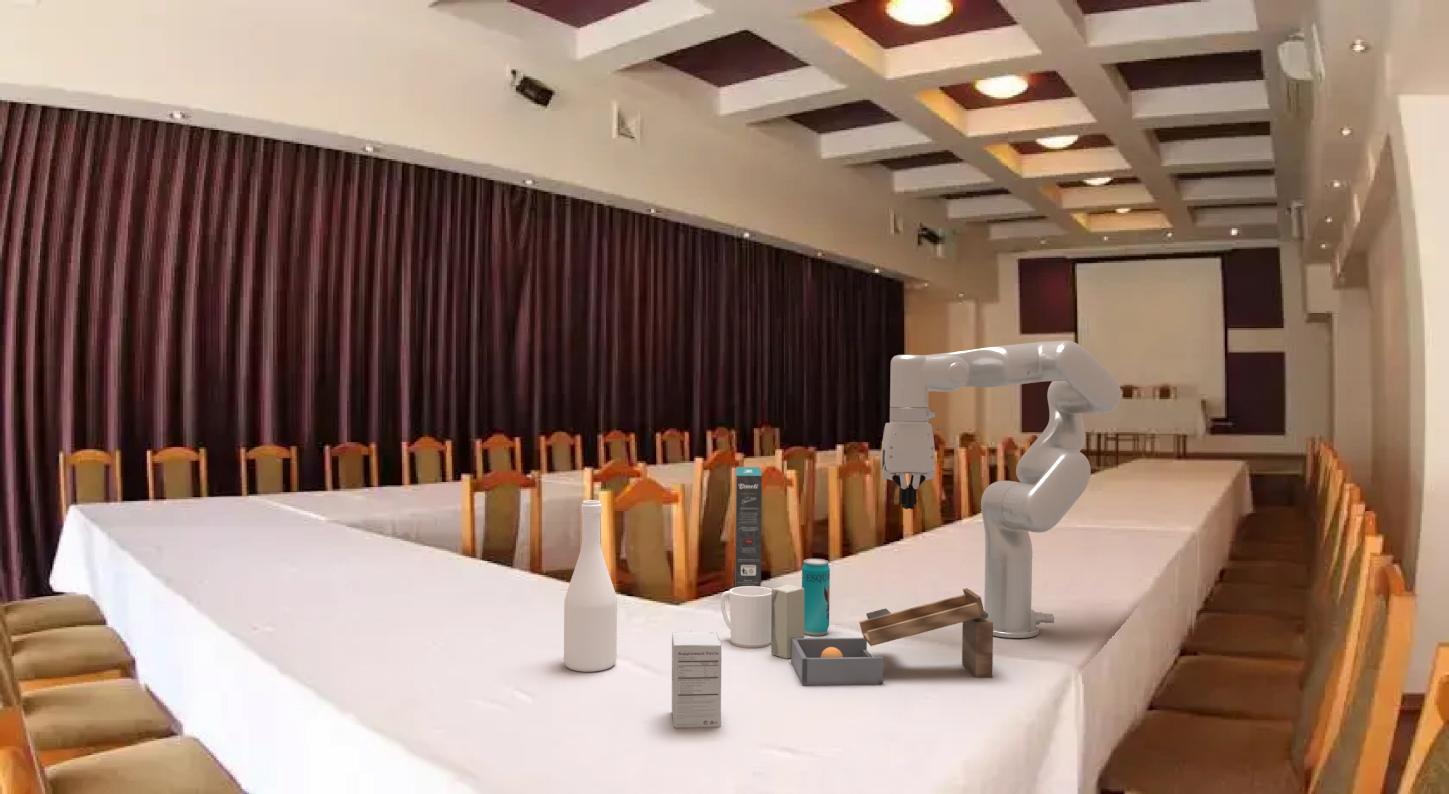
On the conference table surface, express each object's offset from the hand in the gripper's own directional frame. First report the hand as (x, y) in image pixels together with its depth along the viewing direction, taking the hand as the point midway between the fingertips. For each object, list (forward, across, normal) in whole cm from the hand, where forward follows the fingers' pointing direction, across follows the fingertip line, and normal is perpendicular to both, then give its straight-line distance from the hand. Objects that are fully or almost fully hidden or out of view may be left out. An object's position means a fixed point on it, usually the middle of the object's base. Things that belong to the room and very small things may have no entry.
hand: (907, 508), depth 185 cm
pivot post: (+27, -8, +18) cm, 34 cm away
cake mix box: (+27, +27, -46) cm, 60 cm away
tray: (+27, +18, +18) cm, 37 cm away
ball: (+24, +19, +18) cm, 36 cm away
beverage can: (+27, +17, -8) cm, 33 cm away
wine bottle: (+27, +62, +12) cm, 69 cm away
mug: (+27, +32, -2) cm, 42 cm away
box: (+27, +25, +7) cm, 38 cm away
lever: (+19, +2, +14) cm, 24 cm away
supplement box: (+27, +44, +40) cm, 65 cm away
